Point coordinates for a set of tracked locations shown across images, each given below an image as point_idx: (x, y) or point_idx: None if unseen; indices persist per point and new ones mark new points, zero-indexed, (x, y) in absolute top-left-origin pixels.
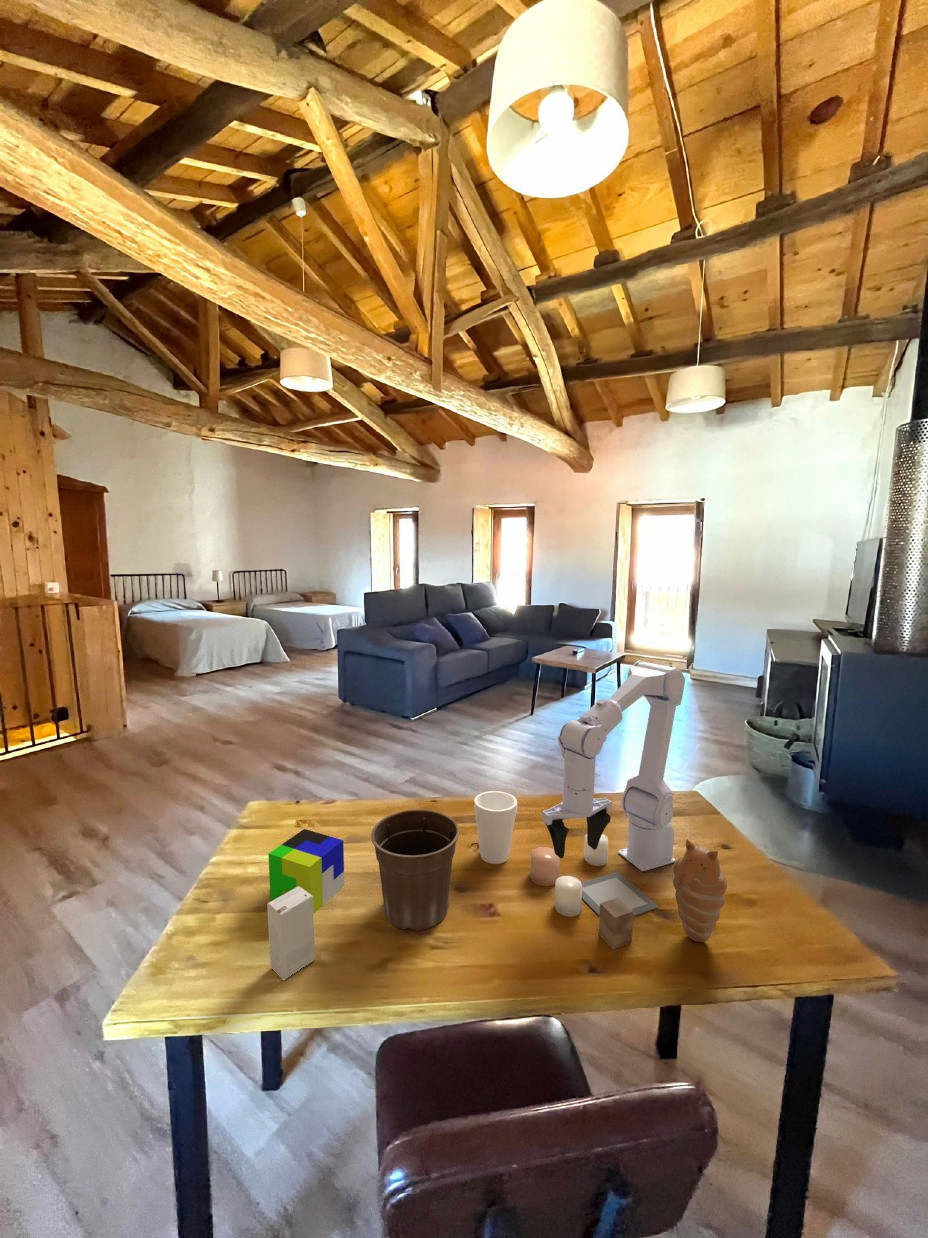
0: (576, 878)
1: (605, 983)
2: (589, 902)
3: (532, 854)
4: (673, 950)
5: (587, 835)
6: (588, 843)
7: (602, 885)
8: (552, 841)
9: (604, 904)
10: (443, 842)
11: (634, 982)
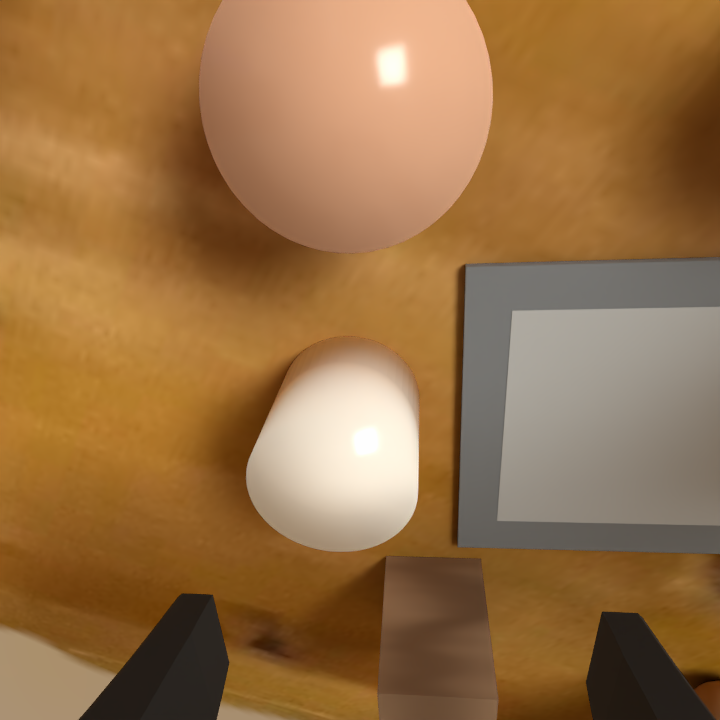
0: (412, 468)
1: (278, 682)
2: (474, 421)
3: (221, 52)
4: None
5: (644, 706)
6: (605, 641)
7: (657, 337)
8: (94, 704)
9: (393, 703)
10: None
11: (364, 706)
